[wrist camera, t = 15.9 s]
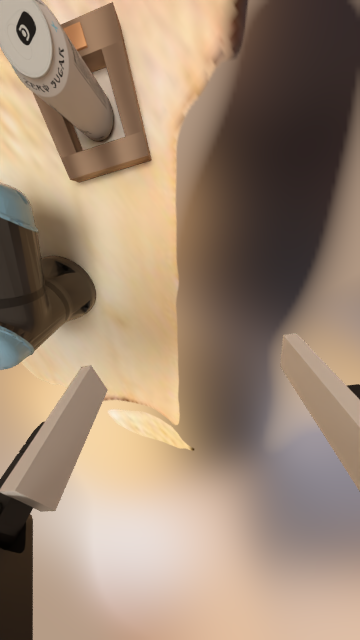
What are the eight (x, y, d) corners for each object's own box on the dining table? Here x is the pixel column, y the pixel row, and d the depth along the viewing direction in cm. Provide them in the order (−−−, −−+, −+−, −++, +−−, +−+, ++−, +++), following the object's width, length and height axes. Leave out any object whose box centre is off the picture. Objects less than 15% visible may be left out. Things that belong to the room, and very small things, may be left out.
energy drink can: (69, 112, 28) (-30, 24, 15) (92, 74, 26) (2, -64, 13) (99, 152, 30) (37, 106, 17) (123, 121, 28) (72, 43, 15)
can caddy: (79, 182, 32) (69, 179, 29) (30, 62, 25) (10, 43, 22) (151, 160, 31) (148, 154, 28) (120, 25, 24) (111, -1, 21)
